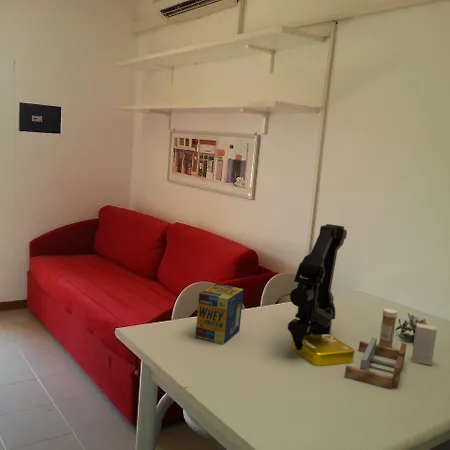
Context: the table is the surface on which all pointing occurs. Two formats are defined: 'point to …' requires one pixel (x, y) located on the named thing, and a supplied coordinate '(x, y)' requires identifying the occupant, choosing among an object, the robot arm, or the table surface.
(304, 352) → the element tile
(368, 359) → the pusher
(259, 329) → the table surface
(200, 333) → the protein box
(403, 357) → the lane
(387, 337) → the sprinkles bottle
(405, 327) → the passion flower
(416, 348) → the skincare box
